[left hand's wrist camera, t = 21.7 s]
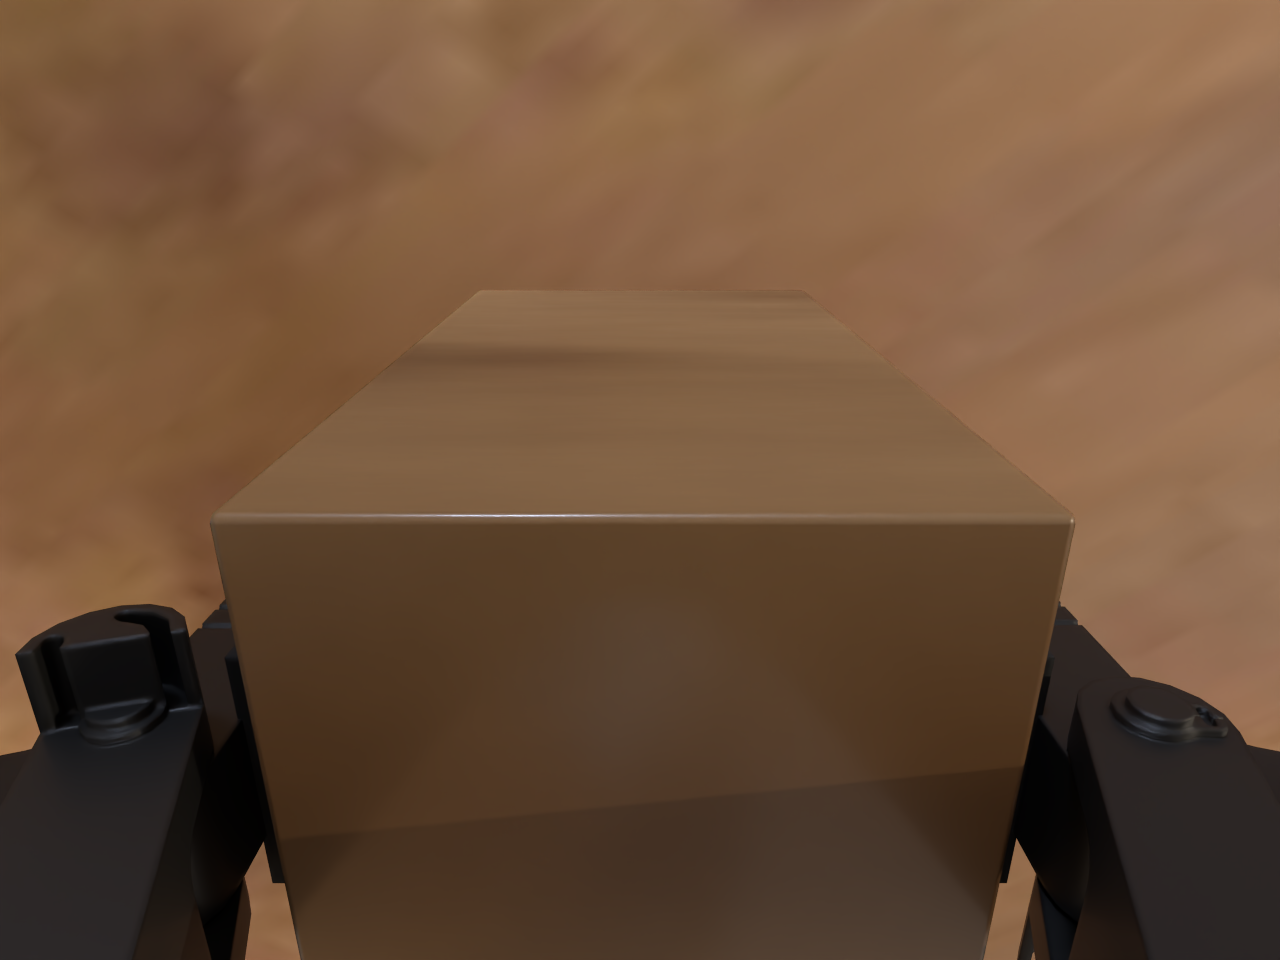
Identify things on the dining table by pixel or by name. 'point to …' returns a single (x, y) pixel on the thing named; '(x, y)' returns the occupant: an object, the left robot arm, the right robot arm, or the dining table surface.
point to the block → (642, 642)
